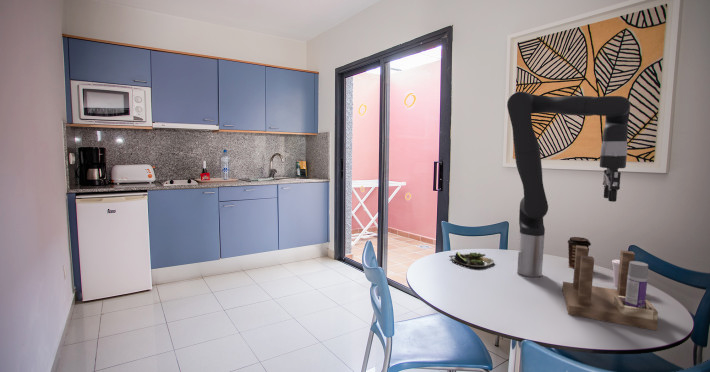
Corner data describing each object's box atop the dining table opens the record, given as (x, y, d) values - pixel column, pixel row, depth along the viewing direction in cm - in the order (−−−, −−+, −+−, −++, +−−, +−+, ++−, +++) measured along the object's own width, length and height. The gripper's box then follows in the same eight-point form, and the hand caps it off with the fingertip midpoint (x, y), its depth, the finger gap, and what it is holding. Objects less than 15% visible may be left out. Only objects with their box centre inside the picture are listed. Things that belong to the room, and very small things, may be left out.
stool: (568, 314, 111) (572, 259, 109) (562, 289, 131) (565, 242, 129) (656, 330, 101) (662, 270, 99) (635, 300, 121) (640, 250, 119)
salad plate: (470, 253, 175) (470, 244, 175) (503, 263, 161) (503, 253, 160) (444, 260, 164) (444, 251, 164) (476, 271, 150) (477, 261, 149)
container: (640, 308, 109) (644, 261, 107) (646, 315, 104) (651, 266, 103) (621, 306, 110) (626, 260, 108) (627, 312, 106) (632, 264, 104)
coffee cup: (588, 266, 156) (591, 238, 155) (589, 272, 149) (591, 242, 148) (566, 263, 161) (568, 235, 159) (565, 268, 154) (567, 239, 152)
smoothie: (634, 290, 130) (638, 254, 128) (615, 289, 131) (618, 252, 129) (624, 284, 136) (628, 249, 134) (606, 282, 137) (609, 248, 136)
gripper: (597, 154, 132) (593, 196, 134) (604, 154, 119) (600, 201, 121) (621, 154, 129) (617, 197, 130) (631, 155, 116) (627, 203, 118)
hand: (609, 199), depth 126 cm, fingers open, 8 cm apart
